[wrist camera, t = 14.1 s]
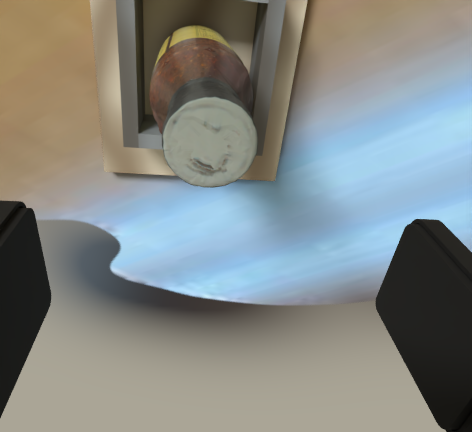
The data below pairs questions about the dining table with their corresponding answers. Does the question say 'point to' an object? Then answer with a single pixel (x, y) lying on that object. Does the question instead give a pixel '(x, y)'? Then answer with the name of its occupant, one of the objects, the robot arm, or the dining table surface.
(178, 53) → the sauce bottle
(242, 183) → the dining table surface
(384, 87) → the dining table surface
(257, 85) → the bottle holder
